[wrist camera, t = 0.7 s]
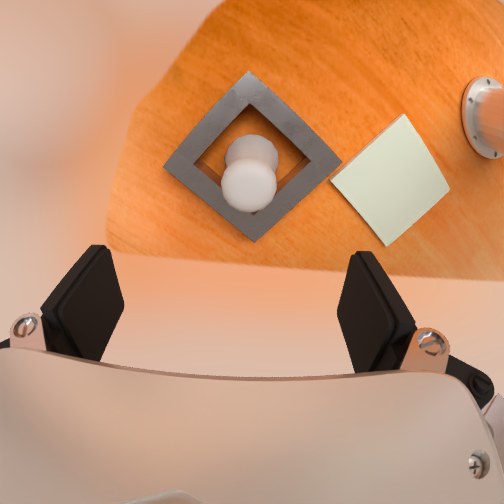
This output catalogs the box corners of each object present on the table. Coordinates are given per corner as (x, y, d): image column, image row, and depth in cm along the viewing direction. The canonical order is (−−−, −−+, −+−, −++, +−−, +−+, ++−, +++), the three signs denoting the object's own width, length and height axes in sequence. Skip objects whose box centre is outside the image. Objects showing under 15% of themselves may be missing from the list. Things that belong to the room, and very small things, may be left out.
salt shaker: (267, 185, 33) (271, 235, 22) (221, 171, 33) (200, 213, 21) (284, 141, 31) (299, 167, 19) (236, 125, 30) (222, 141, 19)
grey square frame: (249, 73, 26) (248, 70, 24) (335, 156, 31) (342, 162, 29) (170, 161, 32) (162, 167, 29) (254, 231, 37) (254, 242, 34)
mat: (401, 113, 28) (404, 113, 27) (447, 187, 32) (450, 189, 31) (328, 178, 33) (330, 180, 32) (384, 244, 37) (386, 247, 36)
